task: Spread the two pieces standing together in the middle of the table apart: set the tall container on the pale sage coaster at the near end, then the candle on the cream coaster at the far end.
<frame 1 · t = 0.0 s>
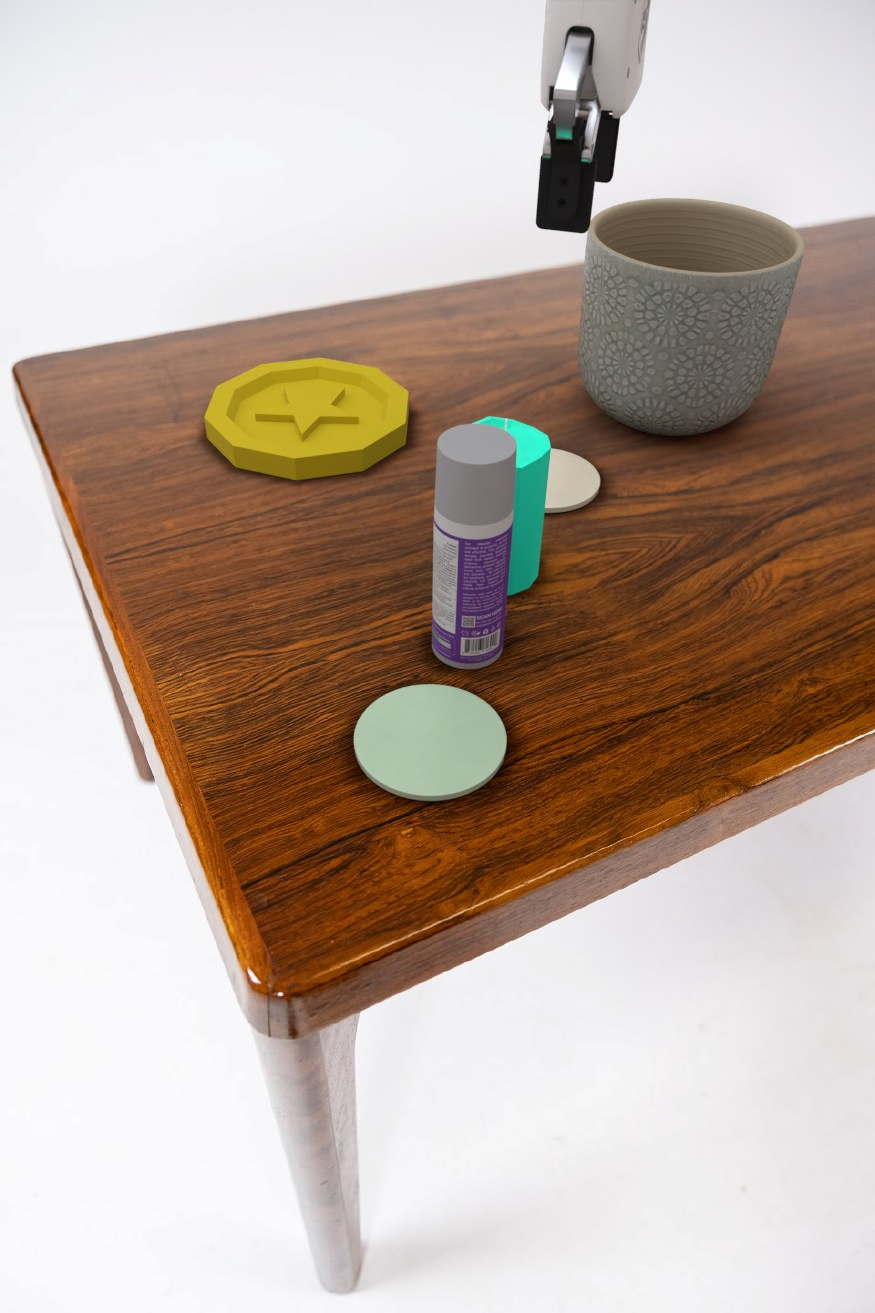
hand: (575, 203, 64), 22 cm above the table, tool pointing down, fingers open, 9 cm apart
far coaster: (543, 481, 81), on the table
near coaster: (430, 742, 60), on the table
planter: (662, 410, 91), on the table
candle: (496, 572, 72), on the table
decorative disc: (310, 427, 87), on the table
container: (467, 647, 66), on the table
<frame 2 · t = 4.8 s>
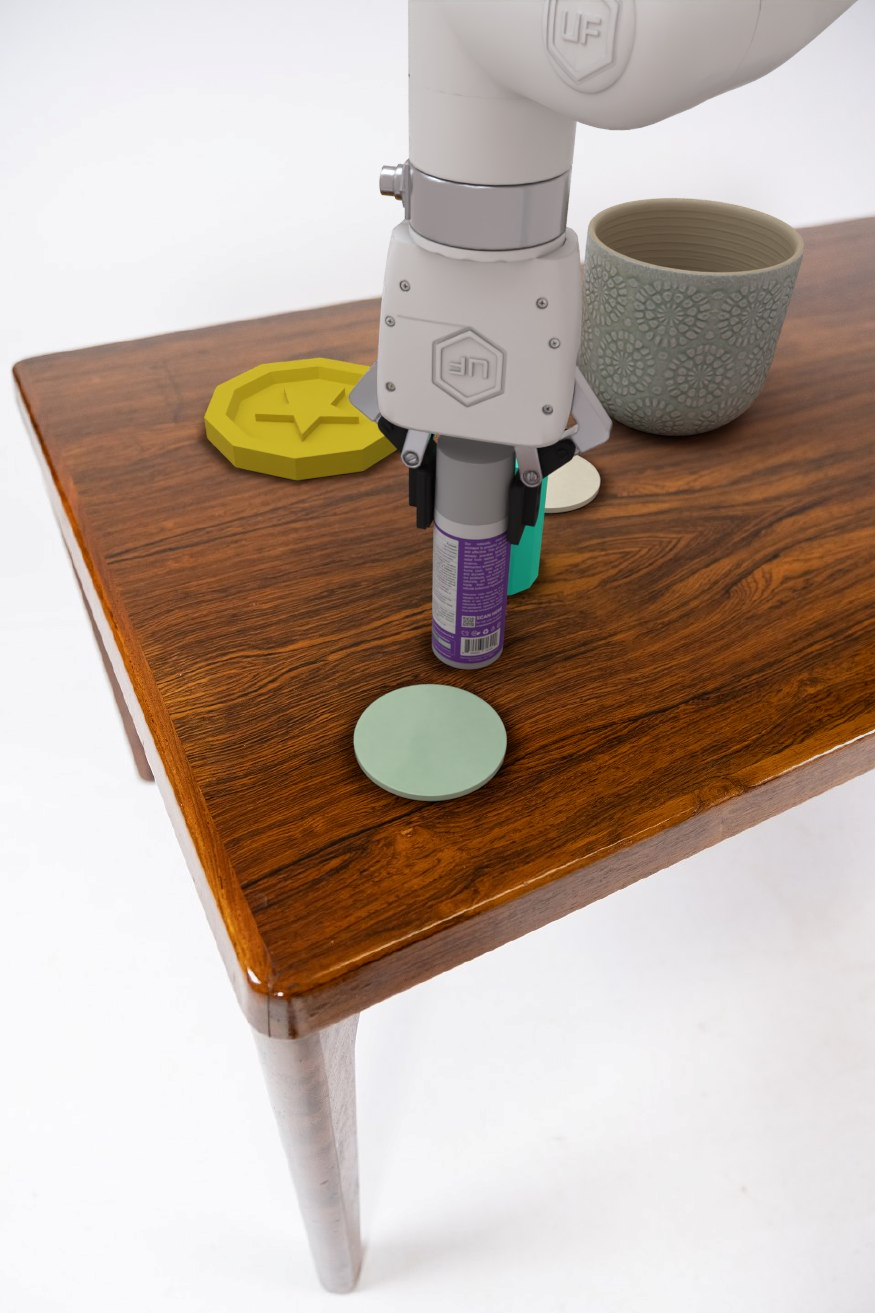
hand: (473, 521, 60), 10 cm above the table, tool pointing down, fingers closed on container, 4 cm apart
container: (467, 647, 66), on the table, touching gripper
everything else where it was.
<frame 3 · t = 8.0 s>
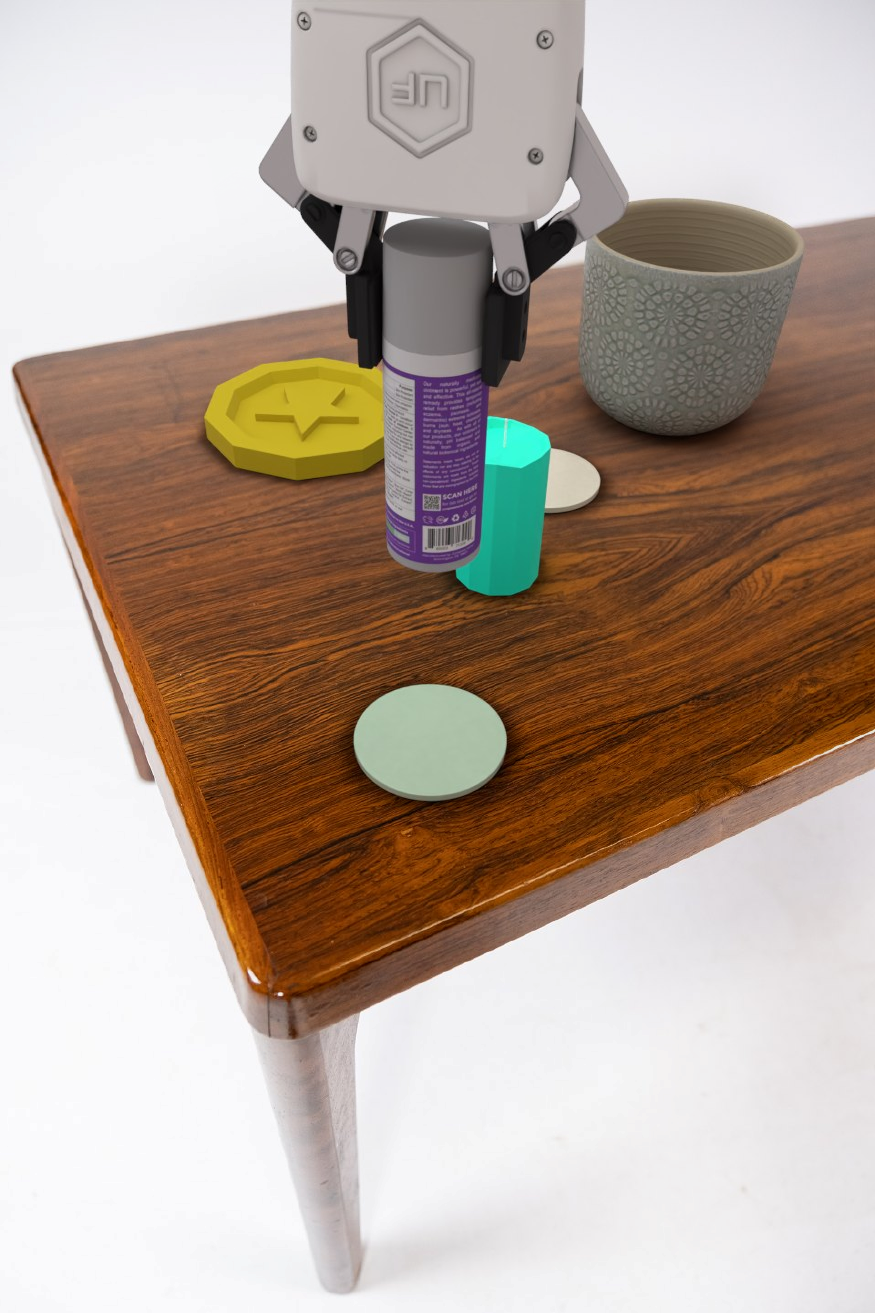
hand: (436, 359, 44), 24 cm above the table, tool pointing down, fingers closed on container, 4 cm apart
container: (433, 547, 50), point 14 cm above the table, touching gripper
everything else where it was.
when the fingers open (10 cm above the table, at t = 11.4 s): container stays where it is, resting on near coaster.
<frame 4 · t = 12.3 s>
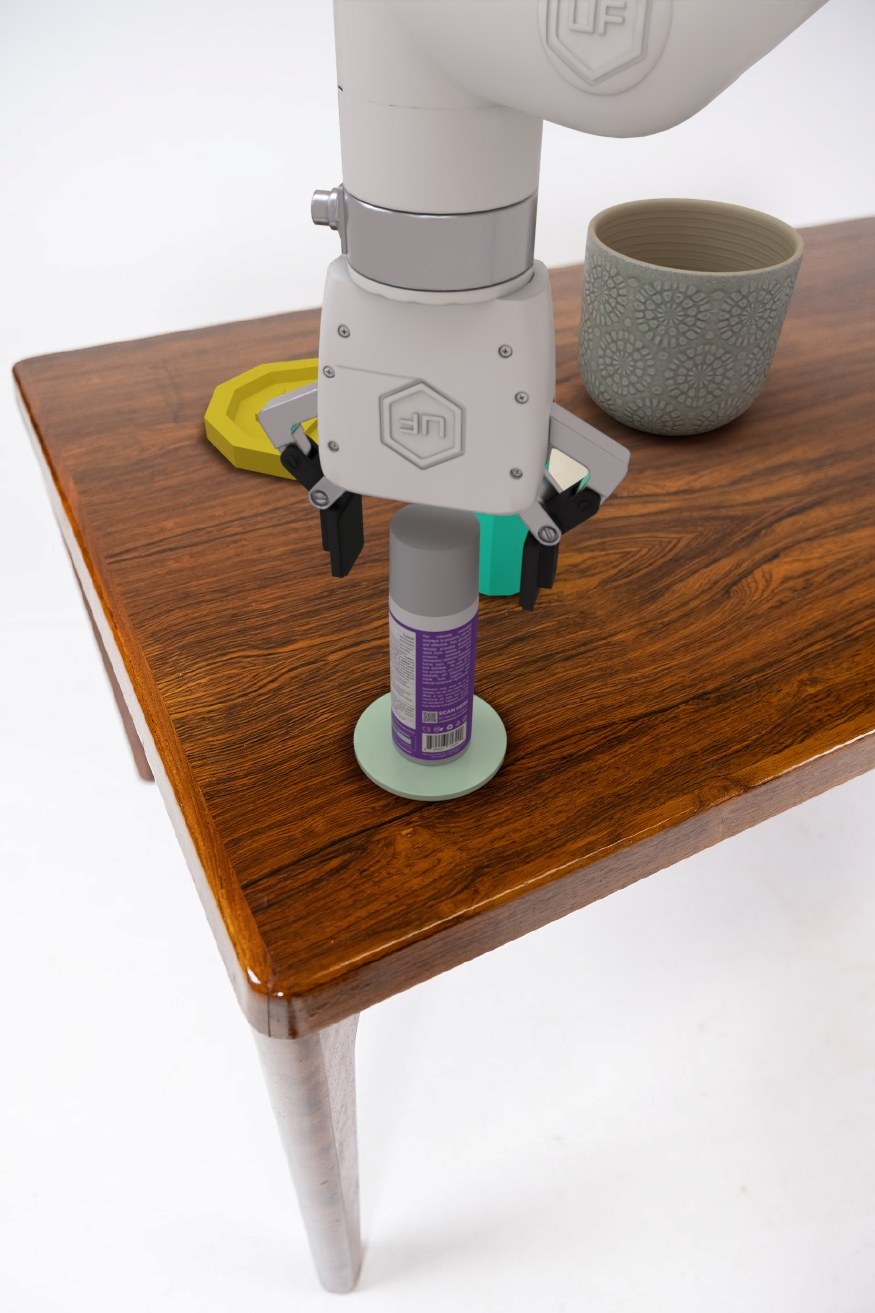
hand: (438, 577, 51), 12 cm above the table, tool pointing down, fingers open, 9 cm apart
container: (431, 739, 60), resting on near coaster
everything else where it was.
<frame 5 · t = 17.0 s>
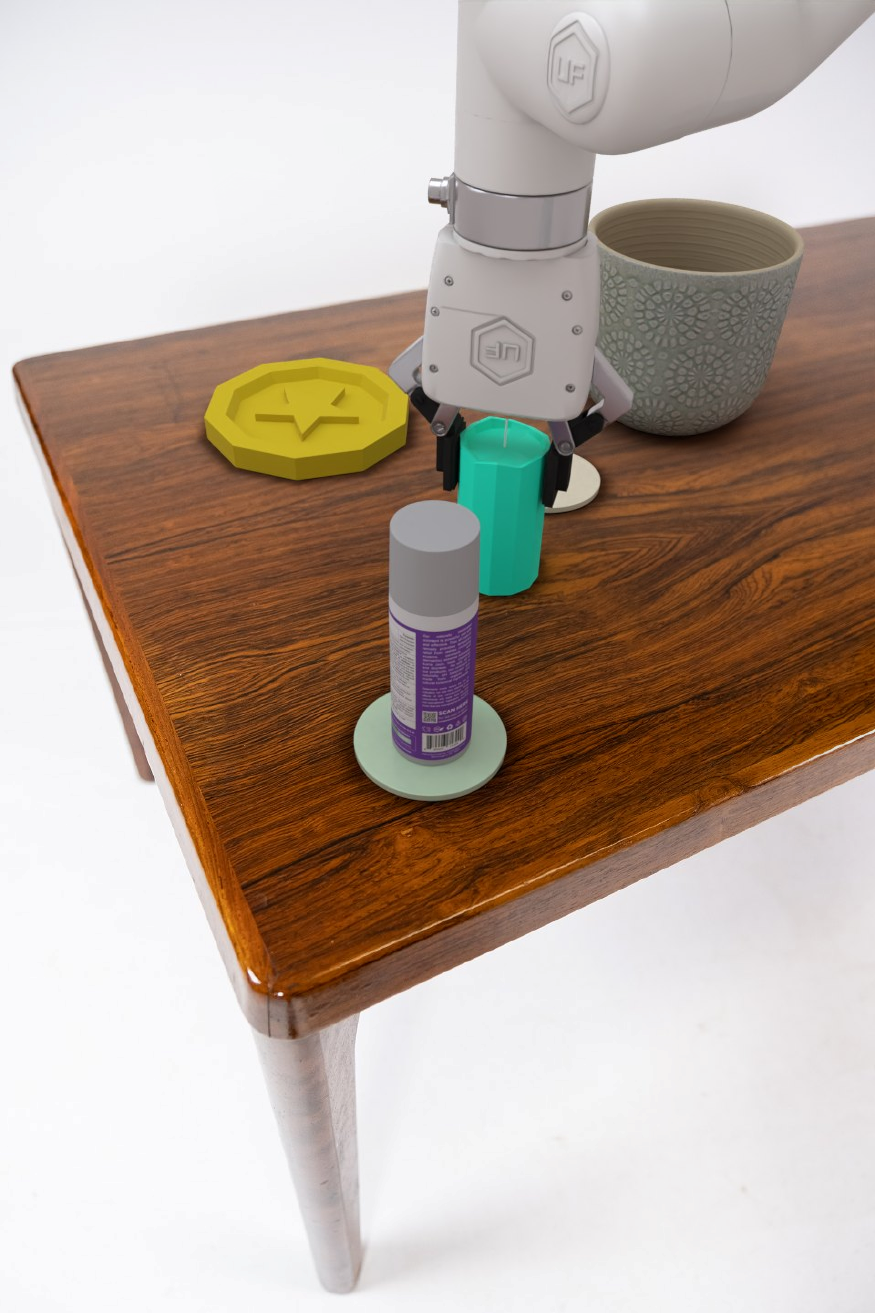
hand: (502, 486, 68), 7 cm above the table, tool pointing down, fingers closed on candle, 6 cm apart
candle: (496, 572, 72), on the table, touching gripper
everything else where it was.
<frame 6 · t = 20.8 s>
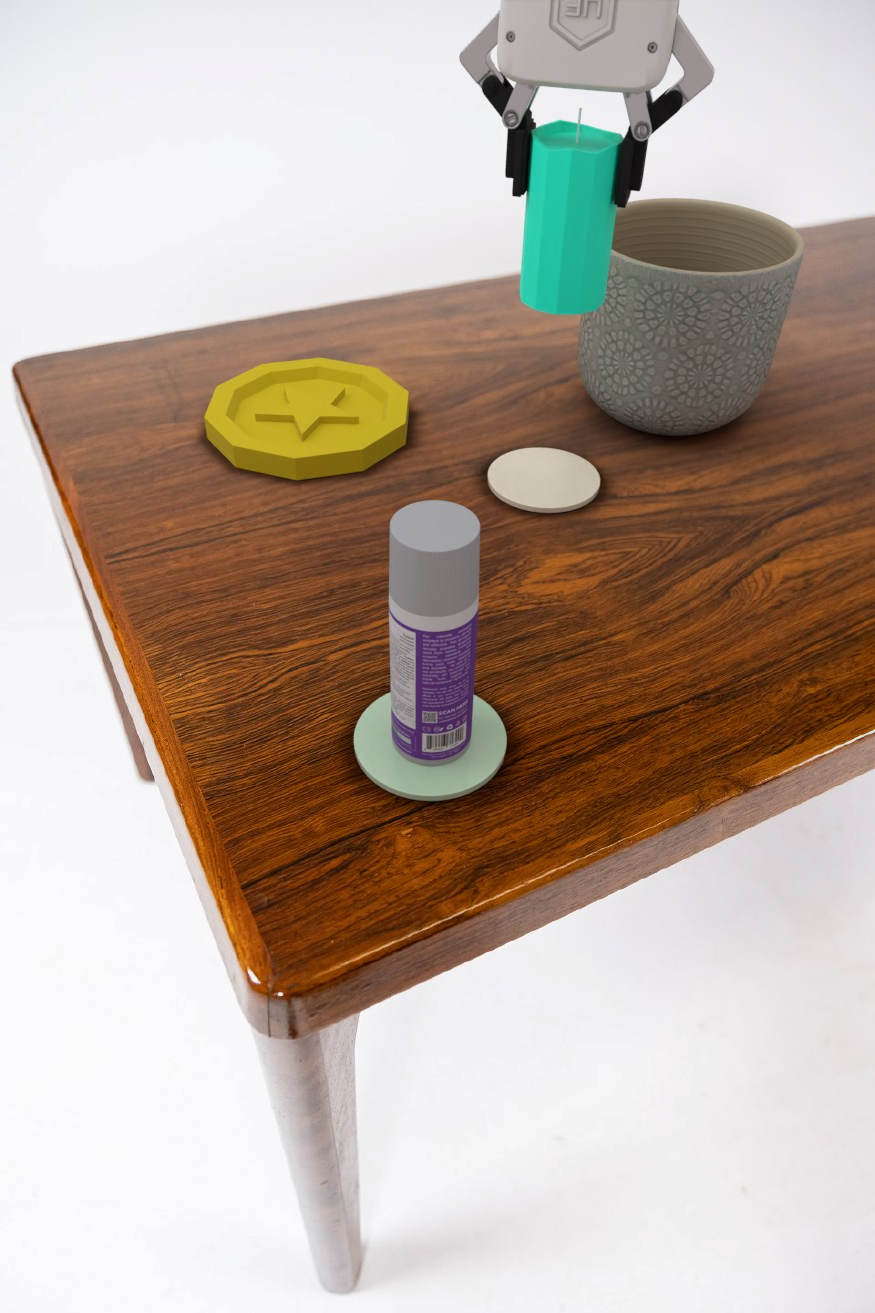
hand: (572, 192, 66), 22 cm above the table, tool pointing down, fingers closed on candle, 6 cm apart
candle: (561, 300, 71), point 15 cm above the table, touching gripper
everything else where it was.
when the fingers open (8 cm above the table, at t = 24.5 s): candle stays where it is, resting on far coaster.
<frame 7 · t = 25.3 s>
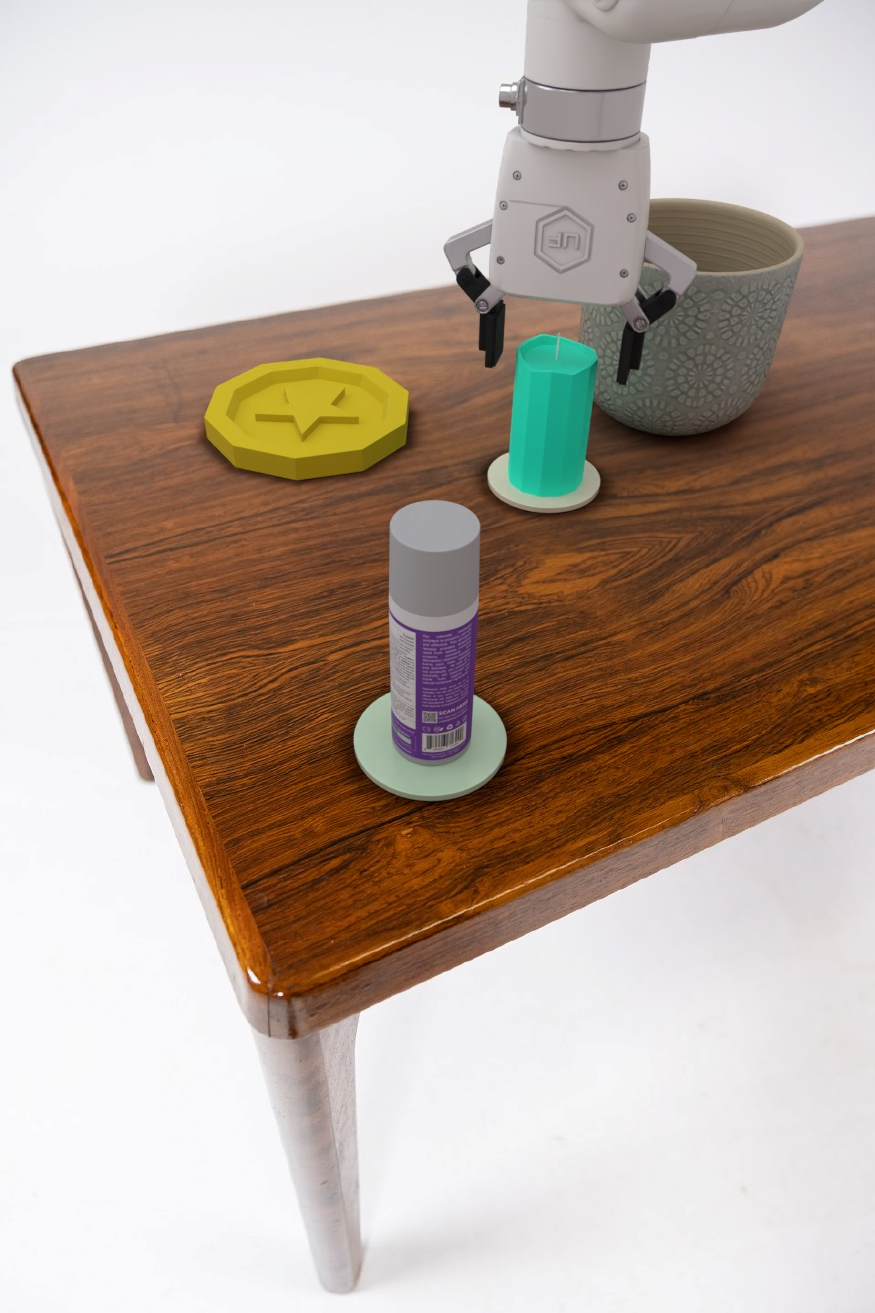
hand: (557, 368, 74), 10 cm above the table, tool pointing down, fingers open, 9 cm apart
candle: (544, 478, 81), resting on far coaster
everything else where it was.
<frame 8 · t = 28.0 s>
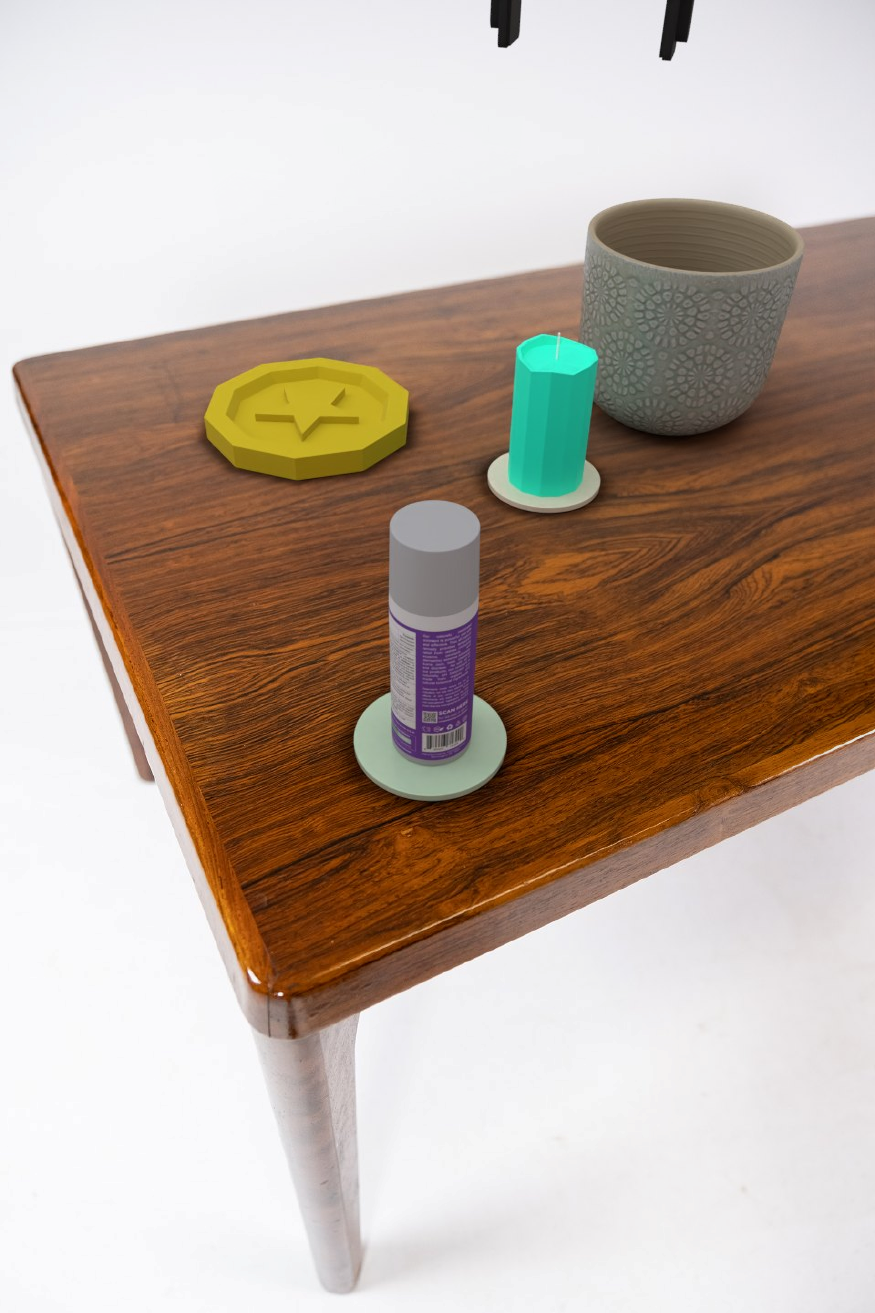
hand: (586, 49, 61), 30 cm above the table, tool pointing down, fingers open, 9 cm apart
nothing on the table moved.
at the end: container 0.1 cm off-centre on the near coaster, point 0.3 cm above the near coaster's base; candle 0.1 cm off-centre on the far coaster, point 0.3 cm above the far coaster's base; candle tilted 0° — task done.
